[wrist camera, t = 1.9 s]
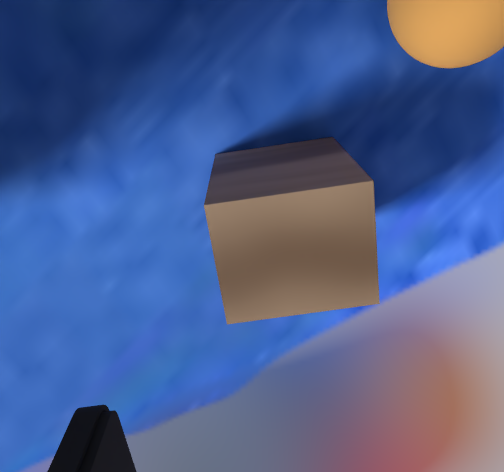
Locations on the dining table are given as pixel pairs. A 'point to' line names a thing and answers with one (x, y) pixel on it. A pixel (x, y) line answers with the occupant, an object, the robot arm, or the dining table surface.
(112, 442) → the robot arm
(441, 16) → the ball
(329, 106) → the dining table surface
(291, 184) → the brown block
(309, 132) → the dining table surface
